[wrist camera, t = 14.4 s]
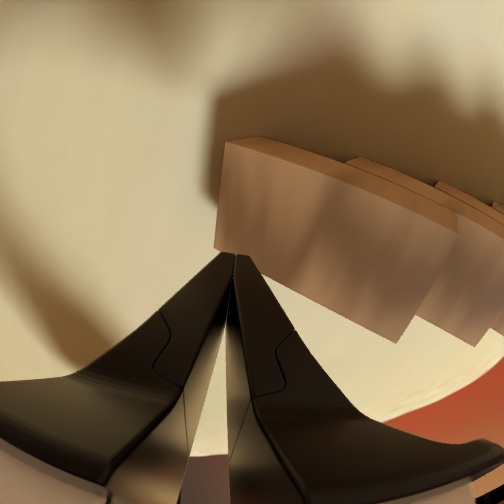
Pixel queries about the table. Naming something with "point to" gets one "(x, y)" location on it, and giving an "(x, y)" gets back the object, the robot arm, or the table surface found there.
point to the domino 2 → (459, 263)
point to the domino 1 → (332, 232)
